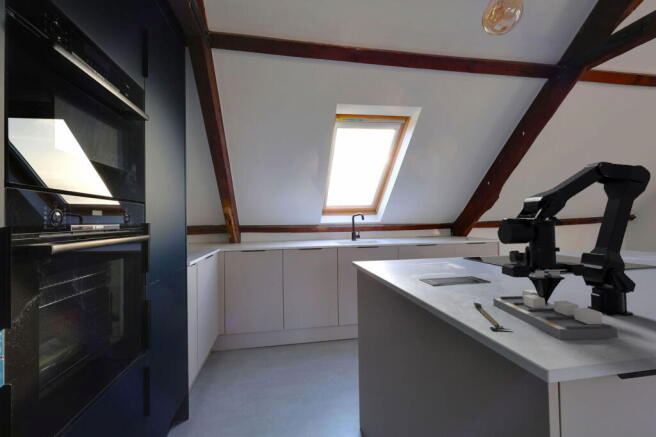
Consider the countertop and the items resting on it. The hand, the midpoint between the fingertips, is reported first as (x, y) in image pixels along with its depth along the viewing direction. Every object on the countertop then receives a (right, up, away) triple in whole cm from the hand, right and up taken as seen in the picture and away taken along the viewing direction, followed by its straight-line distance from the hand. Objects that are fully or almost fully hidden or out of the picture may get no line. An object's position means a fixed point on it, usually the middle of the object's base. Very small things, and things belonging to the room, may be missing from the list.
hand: (544, 302), depth 77 cm
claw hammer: (-14, -4, 0) cm, 15 cm away
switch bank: (-2, -3, -3) cm, 5 cm away
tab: (-3, -1, 0) cm, 3 cm away
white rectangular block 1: (+1, -1, +6) cm, 6 cm away
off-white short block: (+1, -1, -12) cm, 12 cm away
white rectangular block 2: (+1, -1, -6) cm, 6 cm away
